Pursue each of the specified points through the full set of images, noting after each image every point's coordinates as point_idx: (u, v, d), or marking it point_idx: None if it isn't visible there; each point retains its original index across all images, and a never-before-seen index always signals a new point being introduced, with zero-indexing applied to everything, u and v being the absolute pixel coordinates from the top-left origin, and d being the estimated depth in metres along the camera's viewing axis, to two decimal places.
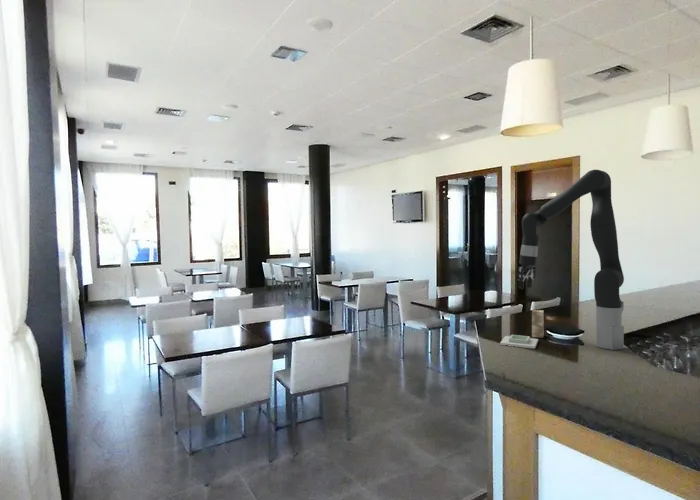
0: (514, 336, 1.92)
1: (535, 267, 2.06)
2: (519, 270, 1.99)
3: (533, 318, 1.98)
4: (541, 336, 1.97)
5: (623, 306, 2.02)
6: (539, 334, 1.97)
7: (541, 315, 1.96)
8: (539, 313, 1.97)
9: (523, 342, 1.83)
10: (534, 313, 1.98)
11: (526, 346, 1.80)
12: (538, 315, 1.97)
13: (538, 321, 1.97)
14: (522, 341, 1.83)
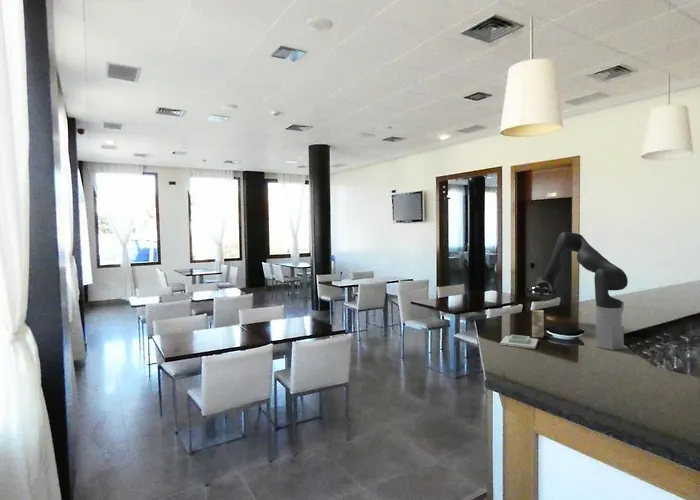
0: (514, 336, 1.92)
1: (555, 288, 2.14)
2: None
3: (533, 318, 1.98)
4: (541, 336, 1.97)
5: (623, 306, 2.01)
6: (539, 334, 1.97)
7: (541, 315, 1.96)
8: (539, 313, 1.97)
9: (523, 342, 1.83)
10: (534, 313, 1.98)
11: (526, 346, 1.80)
12: (538, 315, 1.97)
13: (538, 321, 1.97)
14: (522, 341, 1.83)
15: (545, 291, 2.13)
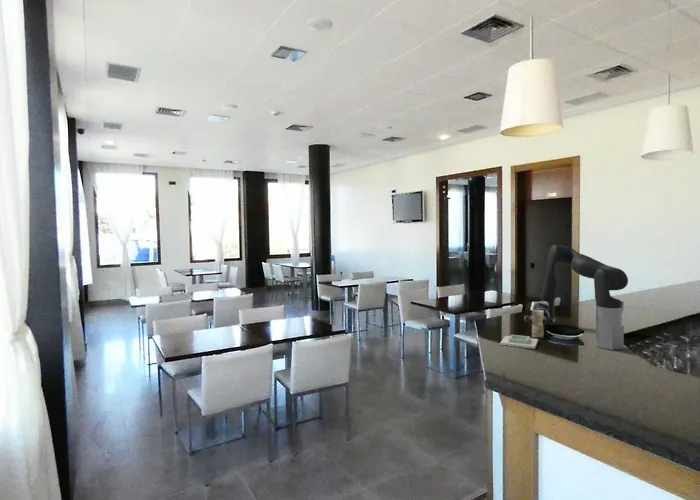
0: (514, 336, 1.92)
1: (553, 317, 2.02)
2: (524, 318, 2.08)
3: (533, 318, 1.98)
4: (541, 336, 1.97)
5: (623, 306, 2.02)
6: (539, 334, 1.97)
7: (541, 315, 1.96)
8: (539, 313, 1.97)
9: (523, 342, 1.83)
10: (534, 313, 1.98)
11: (526, 346, 1.80)
12: (538, 315, 1.97)
13: (538, 321, 1.97)
14: (522, 341, 1.83)
15: None
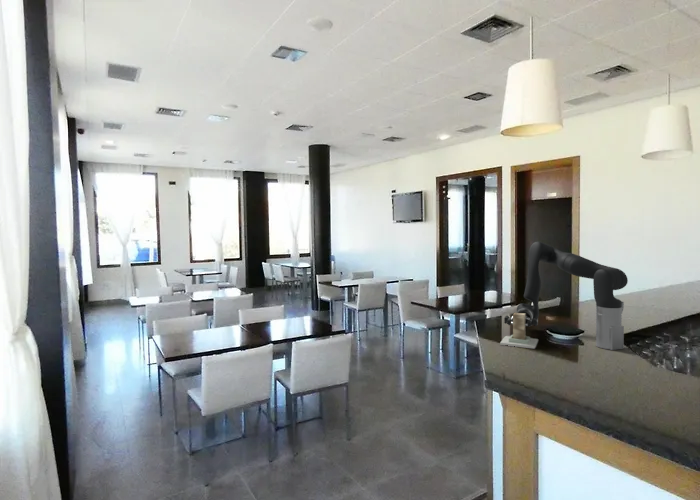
0: None
1: (536, 318, 1.91)
2: None
3: (515, 322, 1.86)
4: None
5: (623, 306, 2.01)
6: None
7: (522, 318, 1.84)
8: (520, 316, 1.85)
9: (523, 342, 1.83)
10: (515, 316, 1.86)
11: (526, 346, 1.80)
12: (519, 318, 1.85)
13: (520, 324, 1.85)
14: (522, 341, 1.83)
15: None
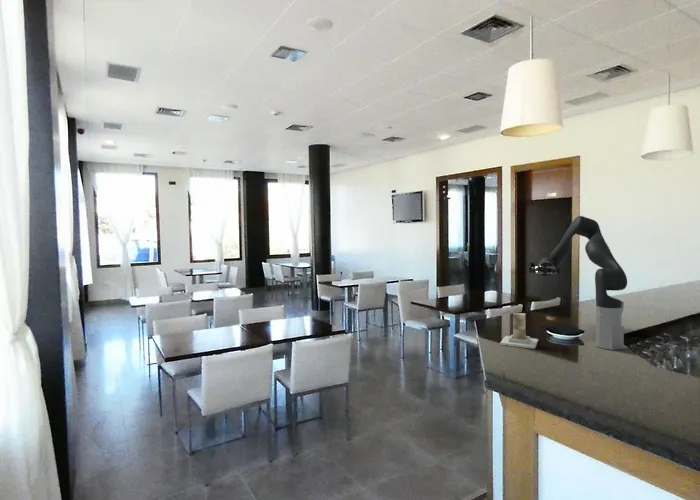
0: None
1: (558, 267, 2.12)
2: None
3: (515, 322, 1.86)
4: None
5: (623, 306, 2.02)
6: None
7: (522, 318, 1.84)
8: (520, 316, 1.85)
9: (523, 342, 1.83)
10: (515, 316, 1.86)
11: (526, 346, 1.80)
12: (519, 318, 1.85)
13: (520, 324, 1.85)
14: (522, 341, 1.83)
15: (548, 270, 2.11)
